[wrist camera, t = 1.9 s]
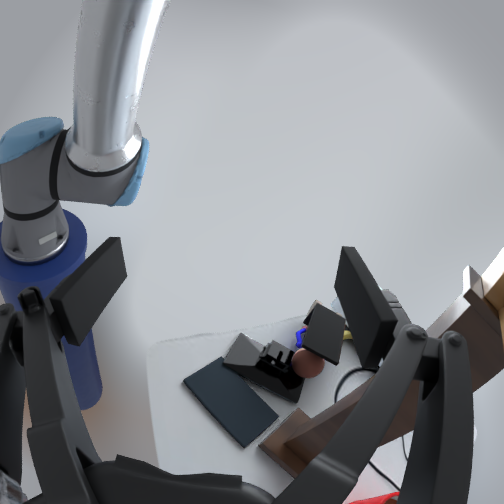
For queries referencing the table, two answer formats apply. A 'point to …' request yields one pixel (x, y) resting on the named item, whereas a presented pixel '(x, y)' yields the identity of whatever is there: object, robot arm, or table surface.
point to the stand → (482, 370)
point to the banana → (347, 335)
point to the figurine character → (318, 341)
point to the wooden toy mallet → (495, 287)
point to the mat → (231, 401)
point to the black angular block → (265, 366)
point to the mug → (380, 499)
